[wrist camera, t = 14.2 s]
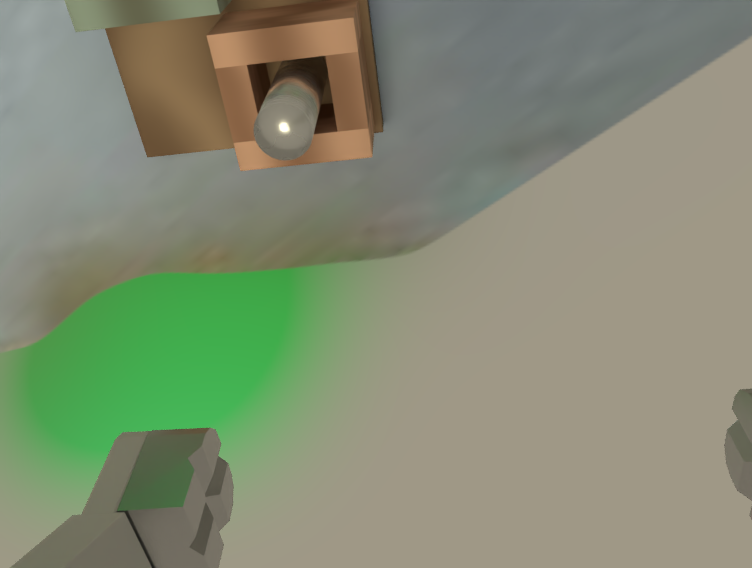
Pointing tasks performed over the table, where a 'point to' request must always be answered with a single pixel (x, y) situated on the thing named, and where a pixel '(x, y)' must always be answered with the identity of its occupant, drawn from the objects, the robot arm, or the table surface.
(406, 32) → the table surface
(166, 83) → the dock board
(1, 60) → the table surface
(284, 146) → the metal pin
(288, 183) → the table surface
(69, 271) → the table surface
